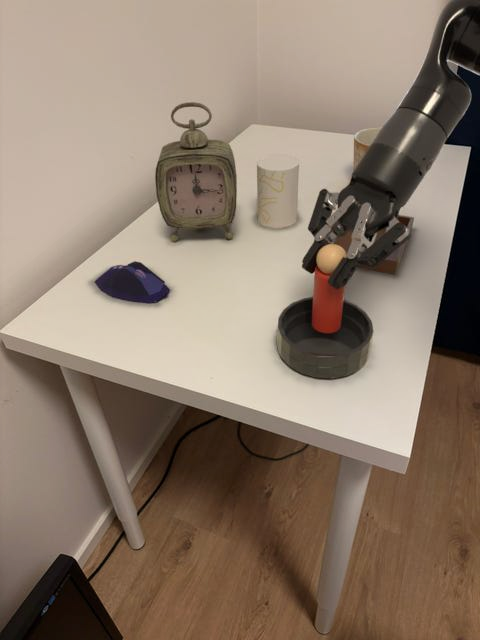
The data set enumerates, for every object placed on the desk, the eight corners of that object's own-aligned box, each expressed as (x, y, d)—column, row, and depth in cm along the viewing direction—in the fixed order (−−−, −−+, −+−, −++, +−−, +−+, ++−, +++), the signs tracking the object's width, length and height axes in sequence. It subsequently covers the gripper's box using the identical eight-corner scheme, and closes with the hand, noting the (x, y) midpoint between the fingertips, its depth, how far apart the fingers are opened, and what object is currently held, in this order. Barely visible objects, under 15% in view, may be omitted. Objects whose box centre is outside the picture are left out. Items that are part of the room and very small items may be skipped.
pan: (348, 313, 76) (351, 290, 73) (384, 371, 66) (389, 347, 63) (268, 327, 74) (268, 303, 71) (292, 388, 64) (293, 364, 61)
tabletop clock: (164, 246, 94) (143, 111, 78) (169, 224, 101) (150, 96, 85) (239, 243, 94) (232, 108, 78) (238, 221, 101) (233, 92, 85)
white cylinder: (249, 217, 102) (248, 161, 94) (279, 206, 105) (279, 151, 98) (275, 232, 97) (275, 174, 89) (304, 219, 100) (307, 162, 93)
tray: (346, 218, 100) (347, 206, 98) (411, 229, 96) (414, 217, 94) (321, 260, 88) (322, 247, 87) (395, 274, 84) (397, 262, 82)
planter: (339, 185, 113) (343, 139, 106) (365, 167, 120) (371, 124, 113) (389, 198, 106) (397, 151, 100) (414, 179, 113) (423, 134, 107)
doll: (334, 313, 69) (342, 236, 61) (345, 330, 66) (354, 251, 58) (307, 317, 68) (312, 240, 61) (316, 335, 65) (322, 256, 57)
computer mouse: (122, 261, 90) (117, 242, 88) (186, 283, 84) (183, 264, 81) (85, 287, 84) (80, 267, 82) (151, 312, 78) (147, 292, 75)
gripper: (341, 127, 60) (266, 245, 63) (440, 159, 51) (348, 295, 53) (365, 159, 66) (296, 265, 68) (458, 192, 57) (374, 313, 59)
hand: (319, 278), depth 61 cm, fingers closed on doll, 4 cm apart
